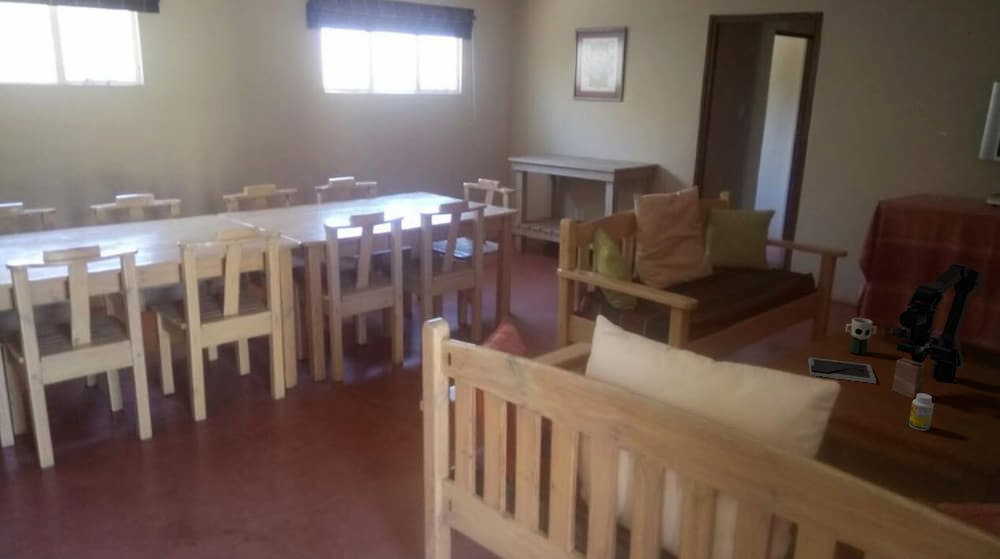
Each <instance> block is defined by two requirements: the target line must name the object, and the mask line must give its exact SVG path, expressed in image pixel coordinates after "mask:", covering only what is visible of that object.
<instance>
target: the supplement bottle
mask: <svg viewBox="0 0 1000 559" xmlns="http://www.w3.org/2000/svg"><path fill="white" fill-rule="evenodd" d="M932 398H933V397H932V395H930V394H928V393H922V392H920V393H918V394H917V396H916V397H915V399H913V400H912V402H911V408H910V414H909V421H908V425H909V426H910V427H911V428H912V429H914V430H917V431H928V430H930V428H931V423H932V417H933V413H934V406H935V403H933V402H932Z"/></svg>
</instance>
